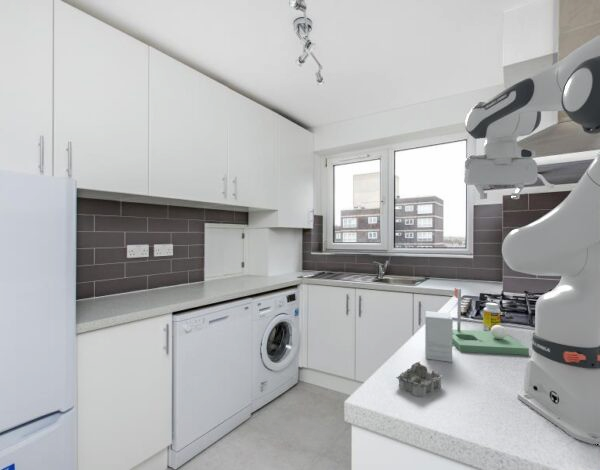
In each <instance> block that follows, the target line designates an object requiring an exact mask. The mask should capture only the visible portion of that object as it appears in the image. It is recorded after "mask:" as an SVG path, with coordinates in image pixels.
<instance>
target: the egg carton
mask: <svg viewBox="0 0 600 470" xmlns="http://www.w3.org/2000/svg"><path fill="white" fill-rule="evenodd" d="M420 362H421V361H416V362H415V363H412V365H411V367H410V368H407V369H406V370H405V371H402V372H401V373H400V374H399V375H397V376H396V377H395V378H396V379H398V387H399V390H400V391H403V390H404V391H409V390H410V392H411V391H412V392H411V395H413V396H414V395H415V396H414V397H422V396H423V397H422V398H424V396H425V397H426V396H427V392H428V391H429V392H428V393H434V389H435V388H437V389H439V388H441V386H442V379H441V377H443V376H444V375H443V374H440V373H439V372H437V373H436V372H435V371H434V370H432V371H431V372H430V371H429V370H428V368H427V366H426V365H423V364H421V363H420ZM421 378H424V381H422V379H421ZM425 379H426V380H425Z"/></svg>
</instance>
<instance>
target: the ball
mask: <svg viewBox="0 0 600 470" xmlns="http://www.w3.org/2000/svg"><path fill="white" fill-rule="evenodd" d="M491 334H492V336H493V337H495V338H496V339H503V338H505V336H506V334H507V330H506V328H505V327H504V326H502V325H501V324H500V325H495V326H493V327H492V328H491ZM507 335H508V334H507Z"/></svg>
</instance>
